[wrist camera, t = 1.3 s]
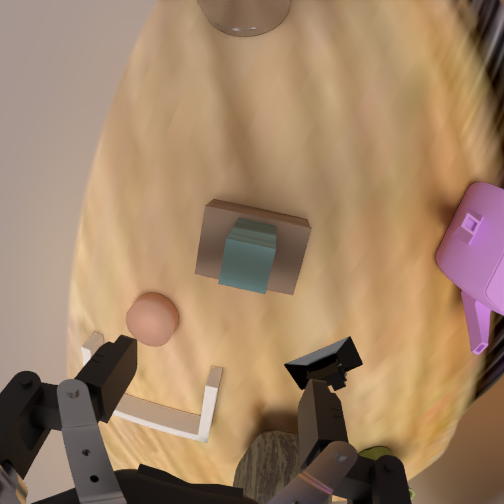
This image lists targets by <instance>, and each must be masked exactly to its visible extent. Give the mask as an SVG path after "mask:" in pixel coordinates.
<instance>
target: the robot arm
mask: <svg viewBox="0 0 504 504" xmlns="http://www.w3.org/2000/svg"><path fill="white" fill-rule="evenodd" d="M197 2H198V3H199V5H200V7H201V8H202V10H203V12H204V13H205V15H206V17H207V18H208V20H209V22H210V23H211V24H212V25H213V26H214V27H216V28H217V29H219V30H220V31H222V32H225V33H227V34H230V35H235V36H254V35H259V34H262V33H266V32H268V31H270V30H272V29H274V28H275V27H276V26H278V25H279V24H280V23H281V22H282V21H283V20H284V19H285V17H286V15H287V13H288V12H289V7H290V0H197ZM136 369H137V340H136V339H134V338H131V337H128V336H124V335H120V336H119V337H118V339H117V340H116V341H115V343H112V342H107V343H105V344H103V345H101V346H100V347H99V348H98V349H97V351H96V352H95V354H93V356H92V357H91V358H90V360H89V361H88V362H87V363H86V364H85V366H84V367H83V368H82V370H81V371H80V372H79V373H78V375H77V376H76V377H75V378H74V379H68V380H65V381H63V382H61V383H60V384H59V385H53V384H47V383H42V382H41V380H40V378H39V376H38V375H37V374H36V373H34V372H31V371H22V372H20V373H17V374H16V375H15V376H14V377H13V378H12V380H11V381H10V382H9V383H8V385H7V386H6V387H5V388H4V390H3V391H2V392H1V393H0V504H26V497H27V492H28V491H27V487H26V484H25V482H24V481H23V480H24V478H25V476H26V474H27V472H28V470H29V468H30V466H31V464H32V463H33V461H34V459H35V457H36V455H37V454H38V452H39V450H40V448H41V447H42V445H43V443H44V441H45V440H46V438H47V436H48V434H49V433H50V431H51V429H54V430H59V431H62V434H63V440H64V445H65V449H66V453H67V458H68V461H69V466H70V469H71V473H72V477H73V481H74V484H75V488H73V489H70V490H67V491H65V492H62V493H59V494H57V495H54V496H51V497H48V498H46V499H43V500H40V501H37V502H34V503H32V504H259V503H258V502H257V501H255V500H253V499H251V498H249V497H247V496H245V495H243V490H244V488H237V487H231V486H226V485H220V484H191V483H187V482H185V481H183V480H181V479H179V478H177V477H175V476H173V475H171V474H169V473H167V472H165V471H162V470H159V469H156V468H153V467H149V466H146V465H143V464H140V465H139V468H138V469H122V470H117V471H113V468H112V466H111V463H110V460H109V457H108V454H107V451H106V448H105V445H104V442H103V439H102V436H101V433H100V430H99V426H98V422H99V421H102V422H105V423H108V421H109V419H110V418H111V416H112V414H113V412H114V410H115V409H116V407H117V405H118V403H119V402H120V400H121V398H122V396H123V395H124V393H125V391H126V389H127V388H128V386H129V384H130V382H131V381H132V379H133V377H134V375H135V373H136ZM343 417H344V416H343V411H342V405H341V401H340V400H339V398H338V397H337V395H336V394H335V393H330V392H328V386H327V382H326V381H322V380H314V379H310V380H309V381H308V384H307V386H306V388H305V391H304V393H303V395H302V398H301V400H300V402H299V406H298V437H299V469H305V470H304V471H303V472H300V473H299V474H298V475H297V476H296V477H295V478H294V479H293V480H292V481H291V482H289V483H288V484H287V485H286V486H285V487H284V488H283V489H282V490H281V491H280V492H279V493H278V494H277V495H275V496H274V497H273V498H272V499H271V500H270V501H269V502H268V503H266V504H323V503H324V502H325V501H326V500H327V499H328V497H329V496H330V495H331V494H332V495H335V496H338V497H342V498H345V499H347V502H348V503H347V504H412V503H411V498H410V493H409V488H408V483H407V478H406V474H405V469H404V465H403V463H402V462H401V461H400V460H399V459H398V458H397V457H395V456H392V455H383V456H381V457H379V458H378V459H377V460H373V459H370V458H366V457H363V456H360V455H358V454H357V451H356V449H355V448H354V447H353V446H352V445H351V444H349V442H348V437H347V431H346V426H345V421H344V418H343Z"/></svg>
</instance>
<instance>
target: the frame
mask: <svg viewBox="0 0 504 504" xmlns="http://www.w3.org/2000/svg"><path fill="white" fill-rule="evenodd" d="M103 344H104V339H103V334H100V333H97V332H94V333H93V334H92V335H91V336H90V337H89V338H88V339H87V341H86V342H85V343H84V344H83V345H82V346H81V350H82V357H83V364H84V366H85V364H86V363H87V362H88V361H89V360H90V358H91V357H92V356H93V354H95V352H96V351H97V349H98V348H99V347H100V346H101V345H103ZM222 370H223V368H218V367H214V366H211V370H210V373H209V377H208V380H207V383H206V388H205V394H204V400H203V406H202V413H201V416H199V415H195V414H191V413H187V412H184V411H180V410H176V409H173V408H169V407H165V406H162V405H159V404H155V403H152V402H149V401H146V400H143V399H139V398H136V397H133V396H130V395H127V394H125V393H124V395H123V396H122V398H121V400H120V402H119V403H118V405H117V407H116V409H115V410H114V412H113V414H112V415H115V416H118V417H121V418H123V419H126V420H129V421H132V422H135V423H138V424H141V425H144V426H147V427H150V428H153V429H157V430H160V431H163V432H167V433H170V434H174V435H177V436H181V437H185V438H189V439H193V440H197V441H201V442H205V443H207V441H208V437H209V433H210V428H211V424H212V419H213V414H214V409H215V404H216V399H217V394H218V389H219V384H220V379H221V374H222Z"/></svg>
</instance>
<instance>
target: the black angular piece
mask: <svg viewBox="0 0 504 504" xmlns="http://www.w3.org/2000/svg"><path fill="white" fill-rule="evenodd" d="M361 365H363V363H362V360H361V358H360V356H359V354H358V352H357V349H356V347H355V345H354V343H353V341H352V339H351V337H350V336H349V337H347V338H345V339H342V340H340V341H338V342H336V343H334V344H331V345H329V346H327V347H324V348H322V349H320V350H317V351H315V352H313V353H310V354H308V355H306V356H303V357H301V358H298V359H296V360H293V361H291V362H288V363H286V364H284V366H285V367H286V368H287V370H288V371H289V373H290V374H291V376H292V377H293V379H294V380H295V382H296V383H297V385H298V386H299V388H300V389H301V390H303V389H305V388H306V386H307V384H308V381H309V380H310V379H314V380H322V381H326V382H327V386H330V385H332V387H333V389H334V391H336V390H339V389H341V388H344V387H346V384H345V381H347V379H346V375H347V373H346V372H347V371H350V370H352V369H354V368H356V367H359V366H361ZM328 392H330V389H329V388H328ZM330 393H331V392H330Z"/></svg>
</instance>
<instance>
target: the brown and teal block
mask: <svg viewBox="0 0 504 504" xmlns="http://www.w3.org/2000/svg"><path fill="white" fill-rule="evenodd" d="M310 231H311V227H310V225H309V222H308V220H307V219H303V218H299V217H295V216H290V215H286V214H281V213H277V212H272V211H268V210H263V209H258V208H254V207H249V206H244V205H239V204H235V203H230V202H225V201H220V200H215V199H213V200H212V201H211V202H210V203H208V204H207V205H206V206H205V212H204V218H203V224H202V230H201V236H200V243H199V250H198V256H197V263H196V270H195V274H198V275H202V276H206V277H211V278H215V279H219V282H218V284H222V285H226V286H231V287H235V288H240V289H244V290H249V291H254V292H258V293H263V294H265V293H266V290H270V291H275V292H280V293H284V294H289V295H293V294H294V290H295V287H296V283H297V280H298V276H299V272H300V269H301V265H302V261H303V258H304V254H305V250H306V246H307V243H308V239H309V235H310Z"/></svg>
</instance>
